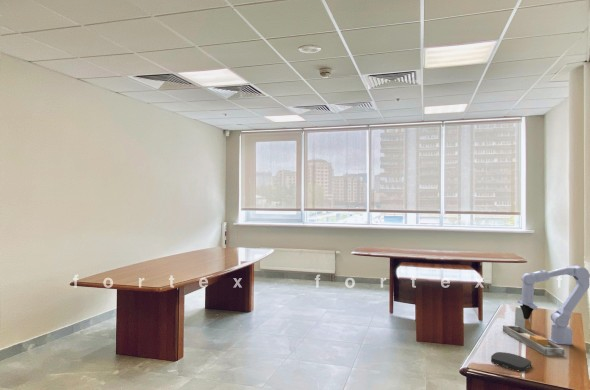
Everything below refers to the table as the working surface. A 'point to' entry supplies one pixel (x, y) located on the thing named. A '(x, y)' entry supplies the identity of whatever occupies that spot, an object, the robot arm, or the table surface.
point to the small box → (522, 319)
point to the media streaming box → (511, 361)
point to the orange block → (539, 340)
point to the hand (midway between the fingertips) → (526, 318)
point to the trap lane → (524, 337)
